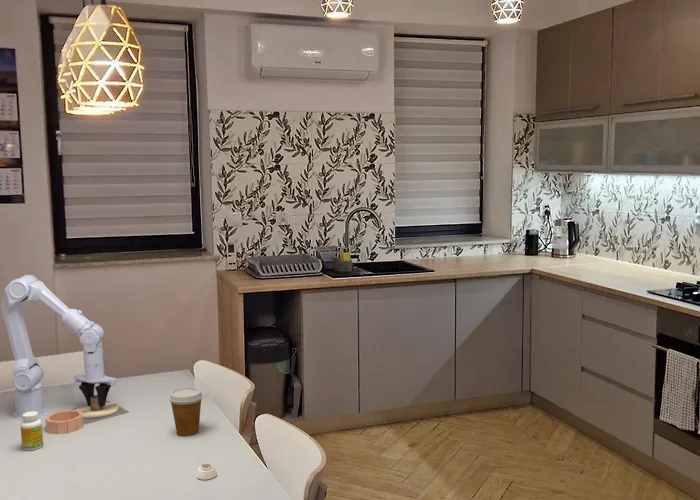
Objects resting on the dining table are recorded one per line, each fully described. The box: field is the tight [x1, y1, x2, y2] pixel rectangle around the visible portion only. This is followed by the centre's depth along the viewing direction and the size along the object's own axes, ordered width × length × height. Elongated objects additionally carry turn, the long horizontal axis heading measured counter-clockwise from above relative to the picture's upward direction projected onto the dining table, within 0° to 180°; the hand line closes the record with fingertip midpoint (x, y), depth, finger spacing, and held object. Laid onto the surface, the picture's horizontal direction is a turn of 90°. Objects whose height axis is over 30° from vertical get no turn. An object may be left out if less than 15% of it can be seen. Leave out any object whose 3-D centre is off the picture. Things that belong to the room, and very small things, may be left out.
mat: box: [70, 399, 130, 425], centre depth 225 cm, size 16×14×1 cm
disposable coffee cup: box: [168, 387, 204, 437], centre depth 207 cm, size 10×10×12 cm
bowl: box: [45, 409, 85, 435], centre depth 212 cm, size 10×10×4 cm
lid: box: [76, 394, 120, 419], centre depth 225 cm, size 13×13×5 cm
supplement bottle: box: [20, 411, 44, 451], centre depth 198 cm, size 5×5×10 cm
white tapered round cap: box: [195, 462, 218, 481], centre depth 179 cm, size 5×3×5 cm
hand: (96, 405), depth 225 cm, fingers closed on lid, 4 cm apart
